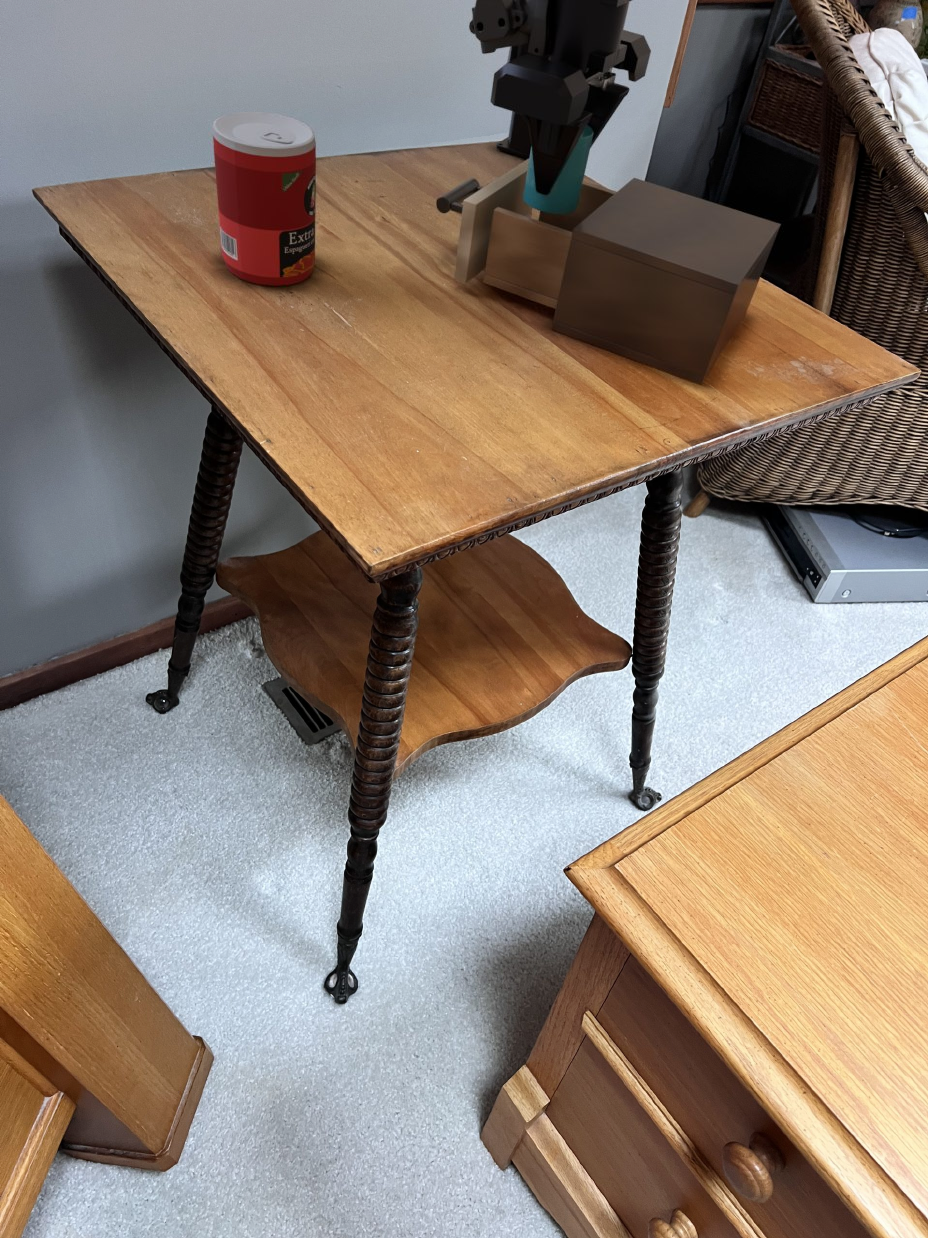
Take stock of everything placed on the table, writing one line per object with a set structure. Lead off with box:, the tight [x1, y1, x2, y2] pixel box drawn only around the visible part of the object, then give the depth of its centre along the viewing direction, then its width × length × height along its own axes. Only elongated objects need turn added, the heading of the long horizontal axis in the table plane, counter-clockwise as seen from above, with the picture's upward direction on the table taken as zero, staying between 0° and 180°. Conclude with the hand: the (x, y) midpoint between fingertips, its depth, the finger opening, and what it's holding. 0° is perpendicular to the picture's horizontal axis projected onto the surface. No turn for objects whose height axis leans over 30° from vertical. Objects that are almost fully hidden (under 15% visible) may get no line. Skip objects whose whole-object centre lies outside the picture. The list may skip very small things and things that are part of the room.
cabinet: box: [550, 177, 782, 386], centre depth 74 cm, size 14×15×9 cm
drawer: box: [435, 158, 617, 310], centre depth 77 cm, size 17×13×7 cm
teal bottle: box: [523, 125, 593, 214], centre depth 72 cm, size 5×5×7 cm
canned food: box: [212, 111, 317, 287], centre depth 71 cm, size 8×8×11 cm
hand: (554, 184), depth 74 cm, fingers closed on teal bottle, 5 cm apart
